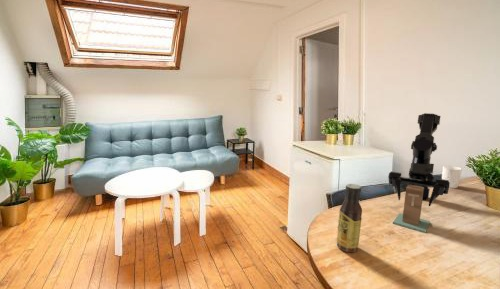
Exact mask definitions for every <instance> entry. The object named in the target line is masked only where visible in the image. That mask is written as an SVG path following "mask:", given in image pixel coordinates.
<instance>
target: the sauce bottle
mask: <svg viewBox="0 0 500 289" xmlns="http://www.w3.org/2000/svg"><path fill="white" fill-rule="evenodd" d="M361 191H362V187H361V186H360V185H359V184H356V183H348V184H346V185H345V197H344V200H343V202H342V204H341V206H340V208H339V212H338V222H337V223H338V224H337V233H336V245H337V248H338V249H339V250H341V251H343V252H345V253H355V252H357V251H358V247H359V244H360V235H361V227H362V215H363V209H362V208H363V207H362V206H361V204H360V193H361Z"/></svg>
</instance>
